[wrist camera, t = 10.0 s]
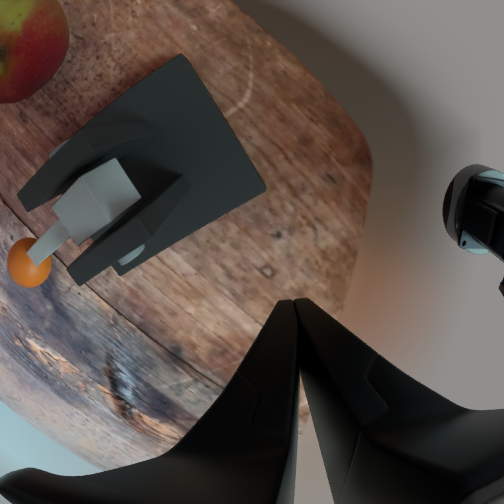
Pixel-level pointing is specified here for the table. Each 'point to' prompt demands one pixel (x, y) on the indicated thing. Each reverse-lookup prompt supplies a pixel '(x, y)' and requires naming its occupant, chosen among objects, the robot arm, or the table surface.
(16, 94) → the apple
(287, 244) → the table surface
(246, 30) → the table surface
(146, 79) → the switch bracket
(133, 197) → the lever
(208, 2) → the table surface
